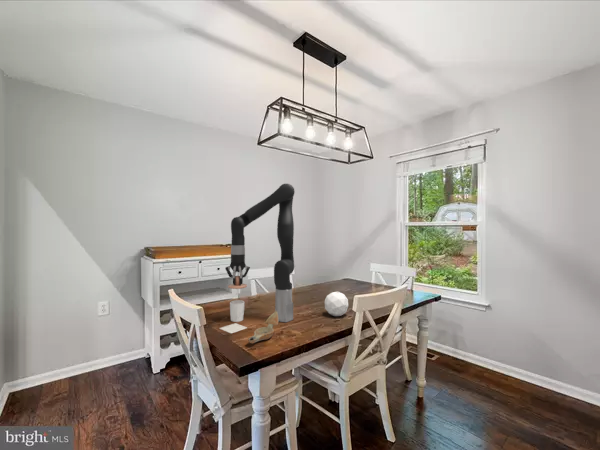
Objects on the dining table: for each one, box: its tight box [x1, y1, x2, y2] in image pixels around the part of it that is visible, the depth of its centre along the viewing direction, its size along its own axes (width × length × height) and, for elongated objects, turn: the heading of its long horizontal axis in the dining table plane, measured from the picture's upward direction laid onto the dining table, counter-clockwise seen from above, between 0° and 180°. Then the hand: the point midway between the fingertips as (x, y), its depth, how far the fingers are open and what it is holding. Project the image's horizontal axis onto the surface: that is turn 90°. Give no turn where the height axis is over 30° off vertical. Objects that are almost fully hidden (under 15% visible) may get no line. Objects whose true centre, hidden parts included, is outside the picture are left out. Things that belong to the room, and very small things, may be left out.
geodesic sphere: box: [323, 291, 349, 317], centre depth 163 cm, size 15×14×14 cm
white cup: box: [229, 299, 245, 323], centre depth 152 cm, size 8×8×10 cm
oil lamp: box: [247, 310, 279, 344], centre depth 128 cm, size 9×21×10 cm, turn 152°
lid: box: [227, 275, 248, 290], centre depth 152 cm, size 10×10×6 cm
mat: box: [218, 322, 248, 334], centre depth 139 cm, size 10×10×1 cm
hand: (237, 284), depth 152 cm, fingers closed on lid, 2 cm apart
